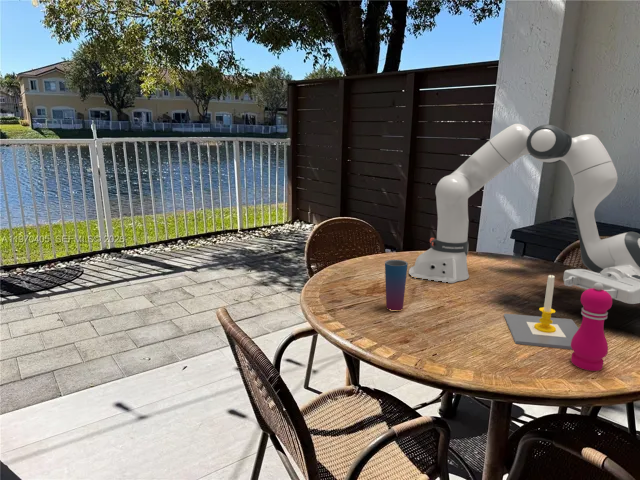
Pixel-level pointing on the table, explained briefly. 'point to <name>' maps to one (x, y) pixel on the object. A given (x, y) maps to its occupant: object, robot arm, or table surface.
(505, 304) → the table surface
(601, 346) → the pepper mill
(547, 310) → the candle
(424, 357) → the table surface
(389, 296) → the cup
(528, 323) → the tile
